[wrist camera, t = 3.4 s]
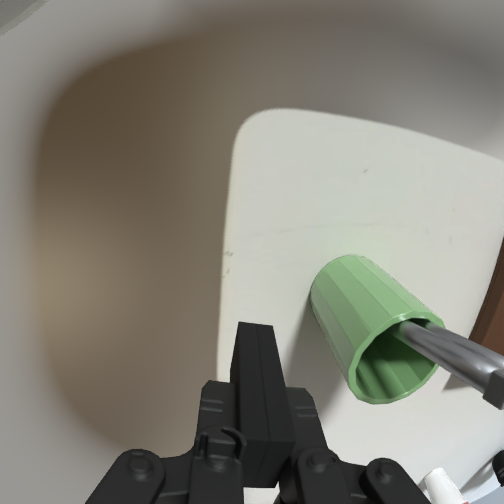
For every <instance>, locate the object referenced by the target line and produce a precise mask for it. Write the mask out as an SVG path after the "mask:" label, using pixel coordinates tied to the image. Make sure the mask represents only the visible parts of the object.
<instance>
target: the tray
mask: <svg viewBox="0 0 504 504" xmlns="http://www.w3.org/2000/svg"><path fill="white" fill-rule="evenodd" d="M469 340H471V341H473V342H475V343H477V344H479V345H481V346H484V347H486V348H488V349H490V350H492V351H494V352H496V353H498V354H501V355H503V356H504V240H503V243H502V247H501V251H500V255H499V258H498V261H497V265H496V268H495V271H494V274H493V278H492V281H491V284H490V287H489V290H488V292H487V295H486V298H485V301H484V303H483V306H482V309H481V311H480V314H479V316H478V319H477V321H476V324H475V326H474V328H473V331H472V333H471V335H470V338H469ZM462 381H463V380H462Z"/></svg>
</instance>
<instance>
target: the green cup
mask: <svg viewBox="0 0 504 504" xmlns="http://www.w3.org/2000/svg"><path fill="white" fill-rule="evenodd" d="M310 300H311V306H312V309H313V312H314V315H315V317H316V319H317V321H318V323H319V325H320V327H321V329H322V331H323V333H324V335H325V338H326V340H327V342H328V344H329V346H330V348H331V350H332V352H333V354H334V357H335V359H336V361H337V363H338V365H339V367H340V369H341V372H342V374H343V376H344V378H345V380H346V382H347V385H348V387H349V389H350V390H351V391H352V393H353V394H354V395H355V396H356V398H357V399H358V400H361V401H364V402H367V403H369V404H389V403H392V402H395V401H397V400H400V399H403V398H405V397H407V396H409V395H410V394H412V393H413V392H415V391H416V390H418V389H419V388H420V387H422V386H423V385H424V384H425V383H426V382H427V381H428V380H429V379H430V377H431V376H432V375H433V374H434V373H435V372H436V370H437V369H438V367H439V365H438V364H436V363H435V362H433V361H432V360H430V359H428V358H427V357H425V356H424V355H422V354H421V353H419V352H418V351H416V350H414V349H413V348H411V347H410V346H408V345H407V344H405V343H404V342H402V341H400V340H399V339H397V338H396V337H394V336H393V335H391V334H389V333H388V332H386V331H385V330H386V329H387V328H389V327H390V326H392V325H393V324H395V323H398V322H401V321H404V320H407V319H410V318H421V319H425V320H428V321H430V322H432V323H434V324H436V325H438V326H441V327H443V328H445V325H444V322H443V321H442V319H440V318H439V317H438V316H437V315H436V314H435V313H434V312H433V311H431V310H430V309H429V308H428V307H427V306H426V305H424V304H423V303H422V302H421V301H420V300H419V299H417V298H416V297H415V296H414V295H413V294H412V293H410V292H409V291H408V290H407V289H406V288H404V287H403V286H402V285H401V284H400V283H398V282H397V281H396V280H395V279H394V278H392V277H391V276H390V275H389V274H388V273H386V272H385V271H384V270H383V269H381V268H380V267H379V266H378V265H376V264H375V263H373V262H372V261H371V260H369V259H368V258H365V257H363V256H358V255H347V256H343V257H340V258H337V259H335V260H333V261H331V262H330V263H328V264H327V265H326V266H325V267H324V268H323V269H322V270H321V271H320V272H319V273H318V275H317V277H316V278H315V280H314V282H313V285H312V288H311V294H310ZM445 329H446V328H445Z"/></svg>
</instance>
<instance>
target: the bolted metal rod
mask: <svg viewBox="0 0 504 504" xmlns="http://www.w3.org/2000/svg"><path fill="white" fill-rule="evenodd" d="M385 331H386V332H388V333H389V334H391V335H393V336H394V337H396V338H397V339H399V340H400V341H402V342H404V343H405V344H407V345H408V346H410V347H411V348H413V349H414V350H416V351H418V352H419V353H421V354H422V355H424V356H425V357H427V358H428V359H430V360H432V361H433V362H435V363H436V364H438V365H439V366H441V367H442V368H444V369H445V370H447V371H449V372H450V373H452V374H453V375H455V376H456V377H458V378H459V379H461V380H463V381H464V382H466V383H467V384H469V385H470V386H472V387H473V388H475V389H476V390H478V391H479V392H481V393H483V397H482V398H483V399H484V400H486V401H487V402H489V403H490V404H492V405H493V406H495V407H496V408H498V409H499V410H503V409H504V356H503V355H501V354H498V353H496V352H494V351H492V350H490V349H488V348H486V347H484V346H481V345H479V344H477V343H475V342H473V341H471V340H469V339H466V338H464V337H462V336H460V335H458V334H456V333H454V332H451V331H449V330H447V329H445V328H443V327H441V326H438V325H436V324H434V323H432V322H430V321H428V320H425V319H421V318H410V319H407V320H404V321H401V322H398V323H395V324H393V325H392V326H390V327H389V328H387V329H386V330H385Z"/></svg>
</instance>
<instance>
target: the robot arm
mask: <svg viewBox="0 0 504 504" xmlns="http://www.w3.org/2000/svg"><path fill="white" fill-rule="evenodd" d="M315 408H316V407H315V404H314V400H313V397H312V396H311V395H310V394H309V393H308V391H307V390H306V389H305V388H292V387H285V382H284V377H283V372H282V368H281V363H280V358H279V353H278V349H277V344H276V339H275V334H274V330H273V326H271V325H262V324H254V323H246V322H239V323H238V328H237V334H236V340H235V345H234V351H233V357H232V362H231V368H230V383H227V382H219V381H212V380H209V381H208V382H207V383H206V384H205V385H204V387H203V388H202V392H201V400H200V407H199V415H198V424H197V432H196V437H195V441H194V446H193V447H192V448H191V450H189V451H188V452H187V453H185V454H183V455H181V456H176V457H168V458H159V456H158V455H156V454H154V453H152V452H151V451H147V450H143V449H131V450H129V451H126V452H123V453H122V454H121V455H120V456H119V457H118V458H117V459H116V461H115V462H114V463H113V465H112V466H111V468H110V469H109V470H108V472H107V473H106V475H105V476H104V477H103V479H102V480H101V482H100V483H99V484H98V486H97V487H96V489H95V490H94V491H93V493H92V494H91V496H90V497H89V498H88V500H87V501H86V503H85V504H244V491H243V487H248V488H275V487H276V485H277V483H278V482H279V489H280V492H279V494H278V496H277V498H276V500H275V501H274V503H273V504H431V502H430V501H429V500H428V499H427V497H426V496H425V495H424V494H423V492H422V491H421V490H420V489H419V488H418V486H417V485H416V484H415V483H414V481H413V480H412V479H411V478H410V476H409V475H408V474H407V473H406V471H405V470H404V469H403V468H402V466H401V465H399V464H398V463H397V462H396V461H394V460H391V459H388V458H378V459H374V460H373V461H371V462H370V463H369V464H368V465H367V466H363V465H357V464H351V463H347V462H343V461H341V460H340V459H339V457H338V456H337V454H335V453H334V452H333V451H332V450H330V449H328V446H327V443H326V440H325V437H324V433H323V430H322V427H321V423H320V420H319V417H318V413H317V410H316V409H315Z"/></svg>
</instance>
